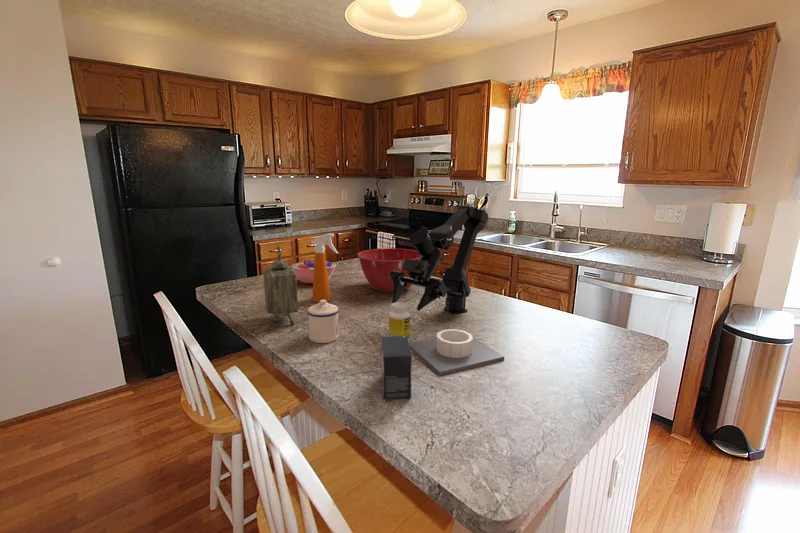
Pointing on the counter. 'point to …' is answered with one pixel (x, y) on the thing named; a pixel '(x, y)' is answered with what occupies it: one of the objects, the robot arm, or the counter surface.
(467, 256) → the robot arm
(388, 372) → the small box
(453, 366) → the socket board
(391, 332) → the pill bottle
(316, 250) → the spray bottle
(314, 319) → the teacup with lid
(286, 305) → the tabletop clock
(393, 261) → the mixing bowl
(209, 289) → the counter surface
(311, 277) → the cell model
